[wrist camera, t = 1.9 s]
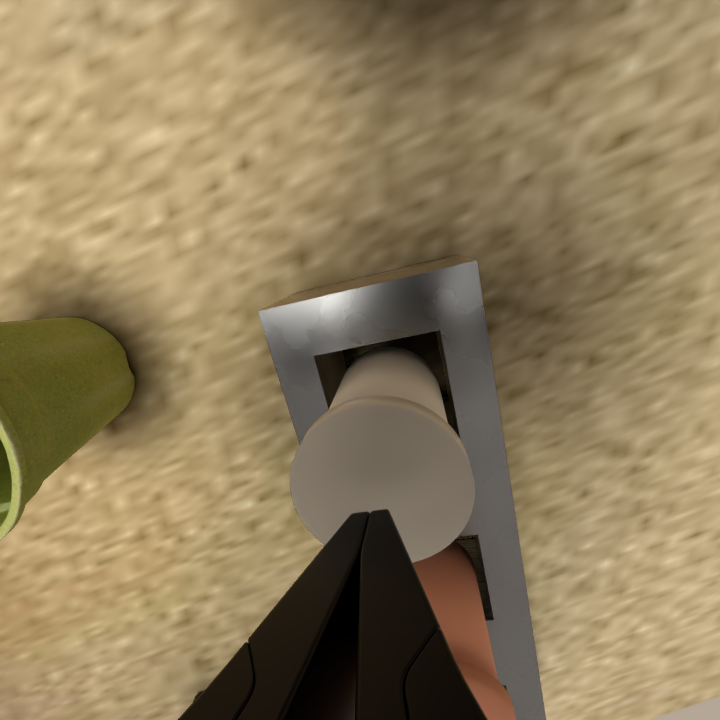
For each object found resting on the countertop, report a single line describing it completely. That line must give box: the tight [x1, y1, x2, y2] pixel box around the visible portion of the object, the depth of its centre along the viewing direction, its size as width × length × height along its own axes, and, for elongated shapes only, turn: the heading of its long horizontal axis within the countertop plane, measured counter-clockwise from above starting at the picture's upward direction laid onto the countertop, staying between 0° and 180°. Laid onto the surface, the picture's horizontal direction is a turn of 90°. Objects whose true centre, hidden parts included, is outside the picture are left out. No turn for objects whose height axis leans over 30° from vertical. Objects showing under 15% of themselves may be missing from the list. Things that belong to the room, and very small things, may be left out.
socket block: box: [258, 255, 546, 720], centre depth 19 cm, size 27×8×5 cm, turn 14°
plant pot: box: [0, 317, 135, 540], centre depth 18 cm, size 9×9×9 cm
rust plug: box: [413, 541, 517, 720], centre depth 15 cm, size 5×5×6 cm
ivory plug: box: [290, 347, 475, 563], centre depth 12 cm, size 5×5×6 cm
